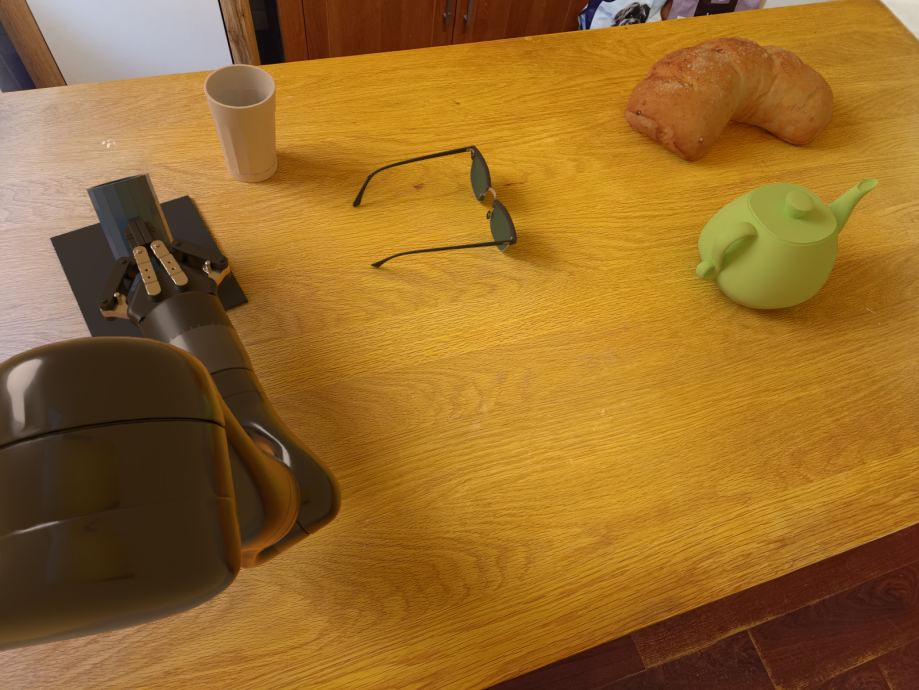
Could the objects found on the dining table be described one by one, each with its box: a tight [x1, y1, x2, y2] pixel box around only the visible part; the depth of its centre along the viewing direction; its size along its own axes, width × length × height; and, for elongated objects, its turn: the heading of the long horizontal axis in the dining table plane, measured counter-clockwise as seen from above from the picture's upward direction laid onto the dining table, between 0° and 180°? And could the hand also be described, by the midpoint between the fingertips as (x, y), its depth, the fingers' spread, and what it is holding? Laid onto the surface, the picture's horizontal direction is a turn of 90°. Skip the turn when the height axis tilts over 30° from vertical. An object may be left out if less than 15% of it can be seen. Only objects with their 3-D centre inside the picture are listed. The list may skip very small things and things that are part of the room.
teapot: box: [695, 177, 879, 310], centre depth 89 cm, size 22×15×13 cm
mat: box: [49, 194, 249, 338], centre depth 83 cm, size 16×18×1 cm
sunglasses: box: [352, 145, 518, 268], centre depth 90 cm, size 16×17×5 cm
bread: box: [624, 36, 834, 162], centre depth 107 cm, size 32×20×10 cm, turn 107°
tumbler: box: [86, 172, 183, 291], centre depth 78 cm, size 6×6×11 cm
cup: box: [203, 63, 279, 184], centre depth 89 cm, size 8×8×12 cm
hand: (136, 225), depth 74 cm, fingers closed
